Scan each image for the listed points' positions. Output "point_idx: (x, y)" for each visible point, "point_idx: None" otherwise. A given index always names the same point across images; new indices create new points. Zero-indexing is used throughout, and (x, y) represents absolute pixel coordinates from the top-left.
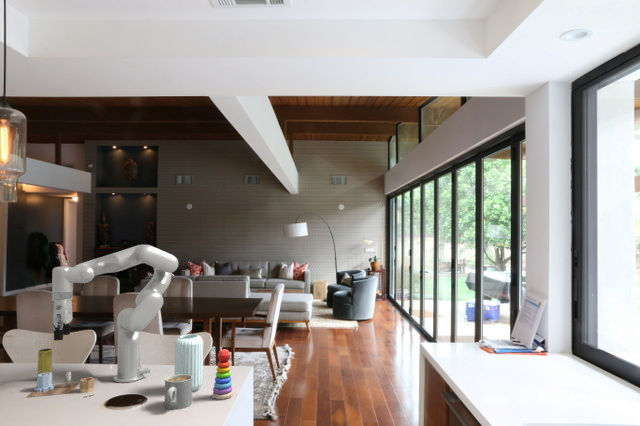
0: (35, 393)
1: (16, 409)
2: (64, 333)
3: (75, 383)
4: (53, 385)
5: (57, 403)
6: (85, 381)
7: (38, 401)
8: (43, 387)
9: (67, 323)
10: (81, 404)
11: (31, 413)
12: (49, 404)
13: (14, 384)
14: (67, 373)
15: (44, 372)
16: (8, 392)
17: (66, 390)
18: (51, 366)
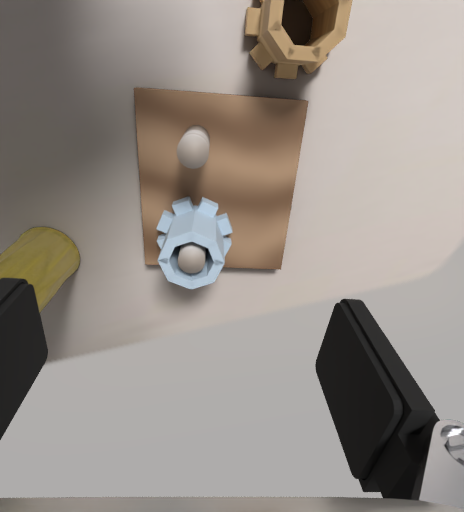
0: (241, 250)
1: (347, 270)
2: (33, 341)
3: (145, 108)
4: (190, 203)
5: (357, 149)
6: (348, 19)
7: (295, 223)
8: (221, 236)
9: (345, 502)
10: (432, 35)
11: (418, 218)
12: (352, 178)
13: (61, 338)
14: (208, 153)
15: (53, 275)
16: (152, 332)
17: (249, 135)
18: (6, 264)
